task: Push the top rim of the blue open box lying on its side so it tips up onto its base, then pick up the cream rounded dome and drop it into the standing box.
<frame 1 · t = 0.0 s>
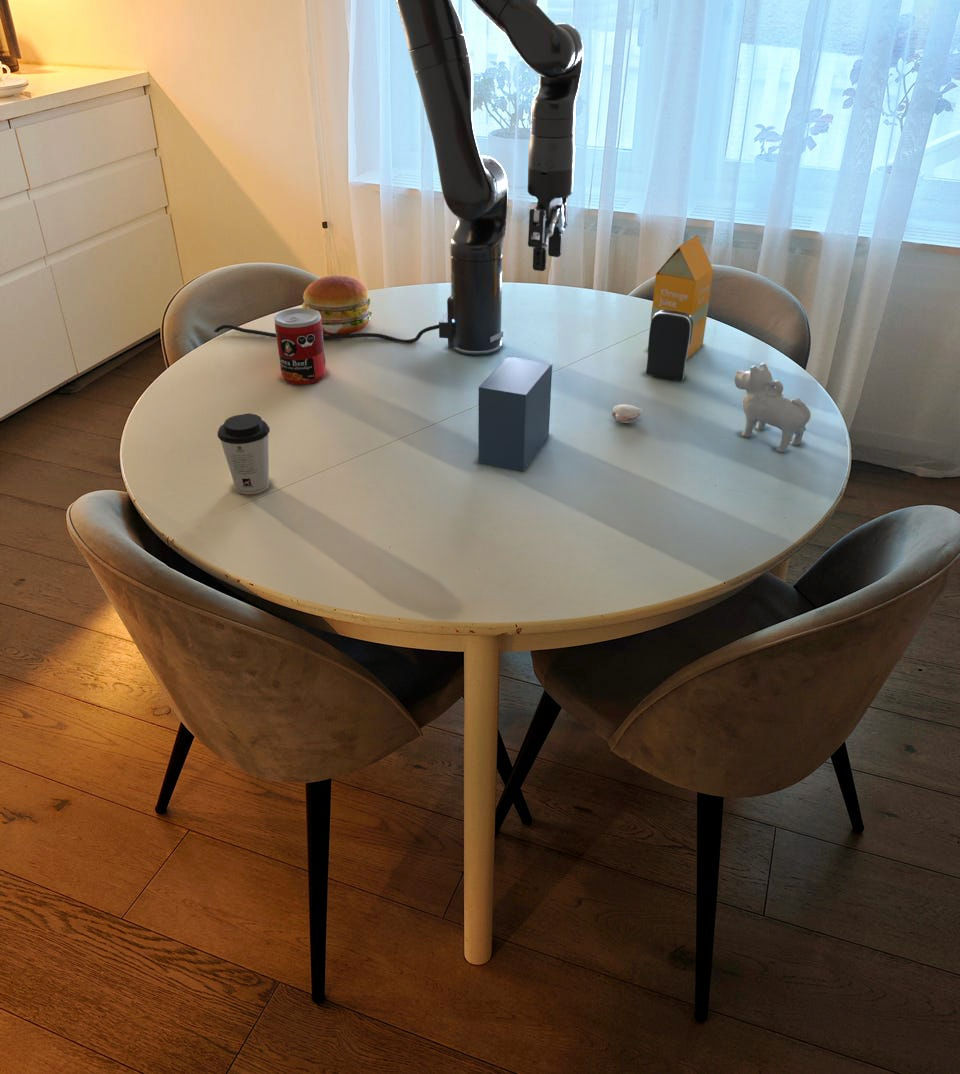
hand: (547, 263, 157), 17 cm above the table, tool pointing down, fingers open, 8 cm apart
coffee cup: (252, 487, 127), on the table
cream rounded dome: (627, 421, 145), on the table
orange juice: (675, 349, 170), on the table
blue open box: (515, 412, 133), point 6 cm above the table
dog figurine: (763, 437, 140), on the table
burger: (338, 329, 179), on the table
canned food: (304, 377, 159), on the table
battery charger: (665, 376, 160), on the table
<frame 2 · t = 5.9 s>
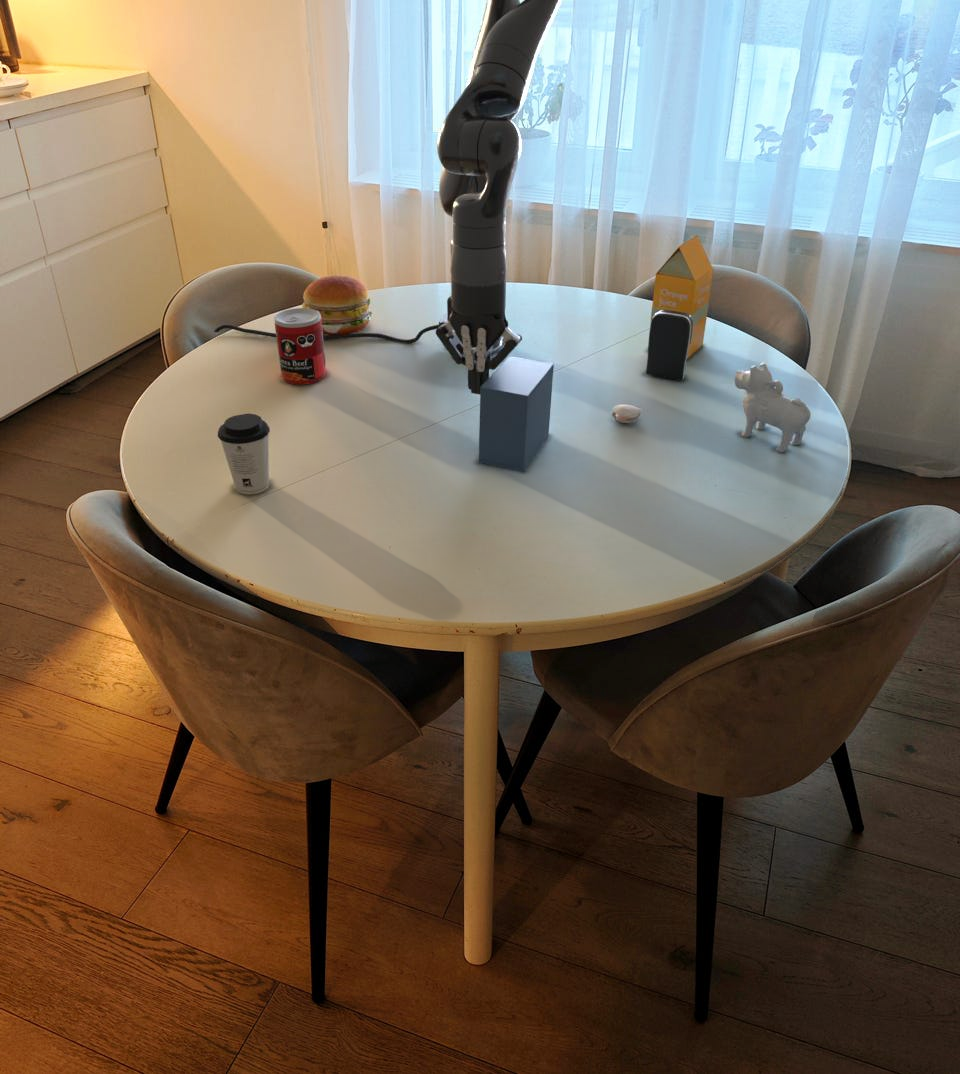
hand: (478, 391, 133), 8 cm above the table, tool pointing down, fingers closed
blue open box: (516, 412, 133), point 6 cm above the table, touching gripper
everything else where it was.
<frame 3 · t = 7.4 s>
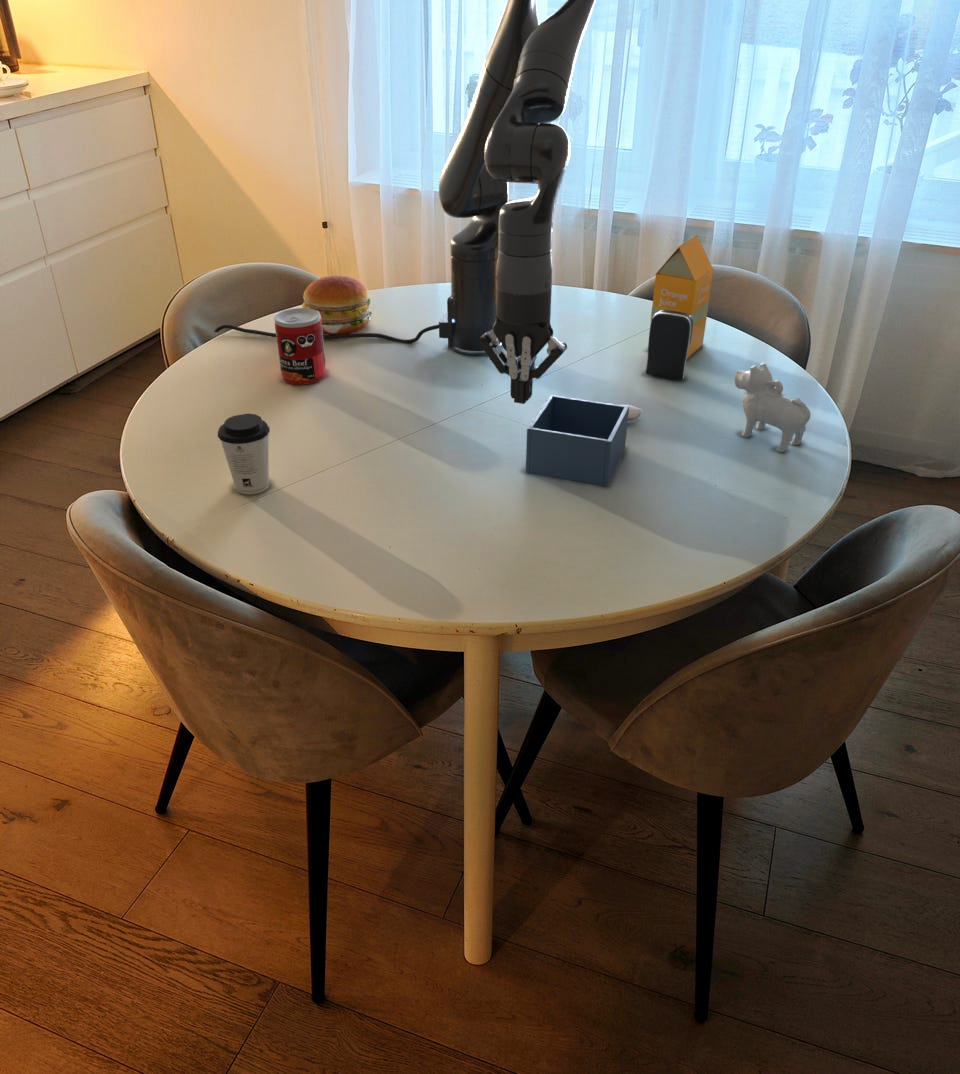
hand: (520, 401, 132), 8 cm above the table, tool pointing down, fingers closed
blue open box: (577, 438, 132), point 4 cm above the table, tilted 90°
everything else where it was.
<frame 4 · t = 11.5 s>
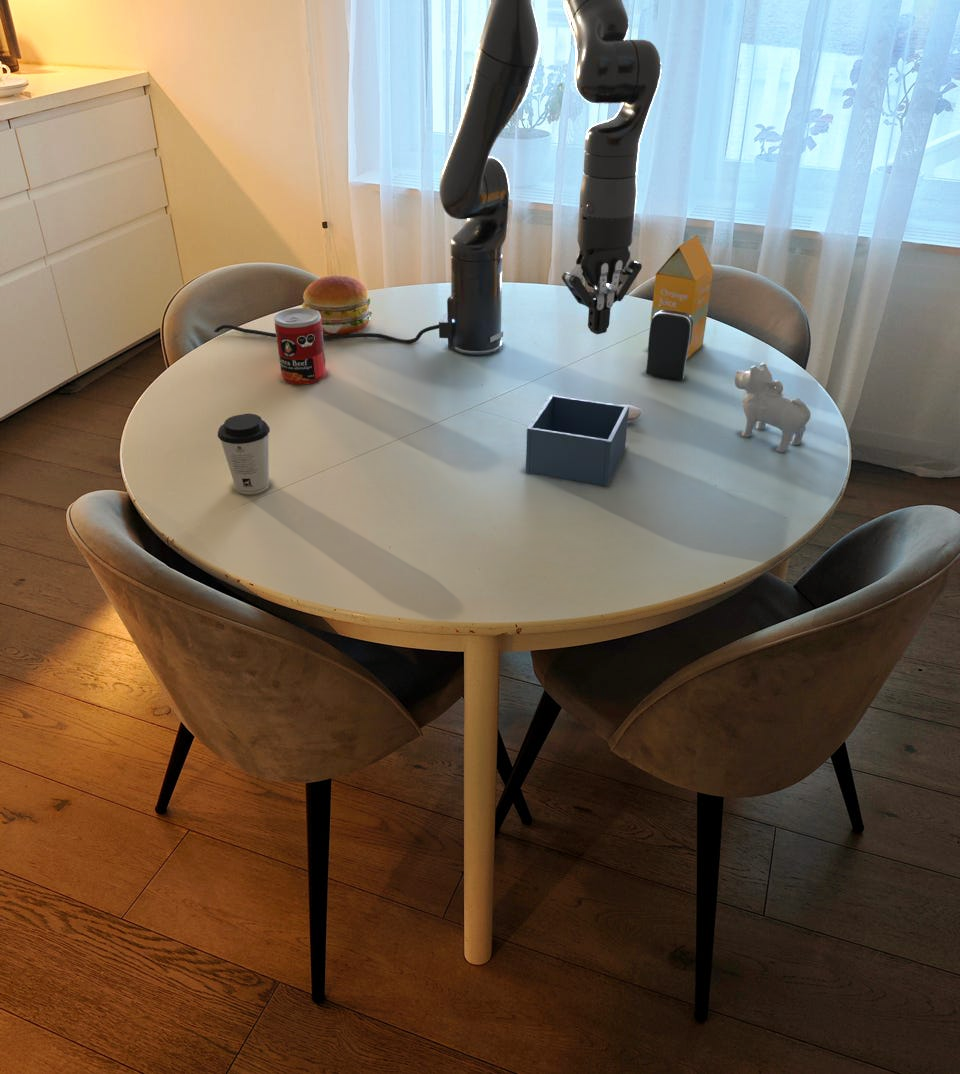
hand: (597, 331, 131), 17 cm above the table, tool pointing down, fingers closed
nothing on the table moved.
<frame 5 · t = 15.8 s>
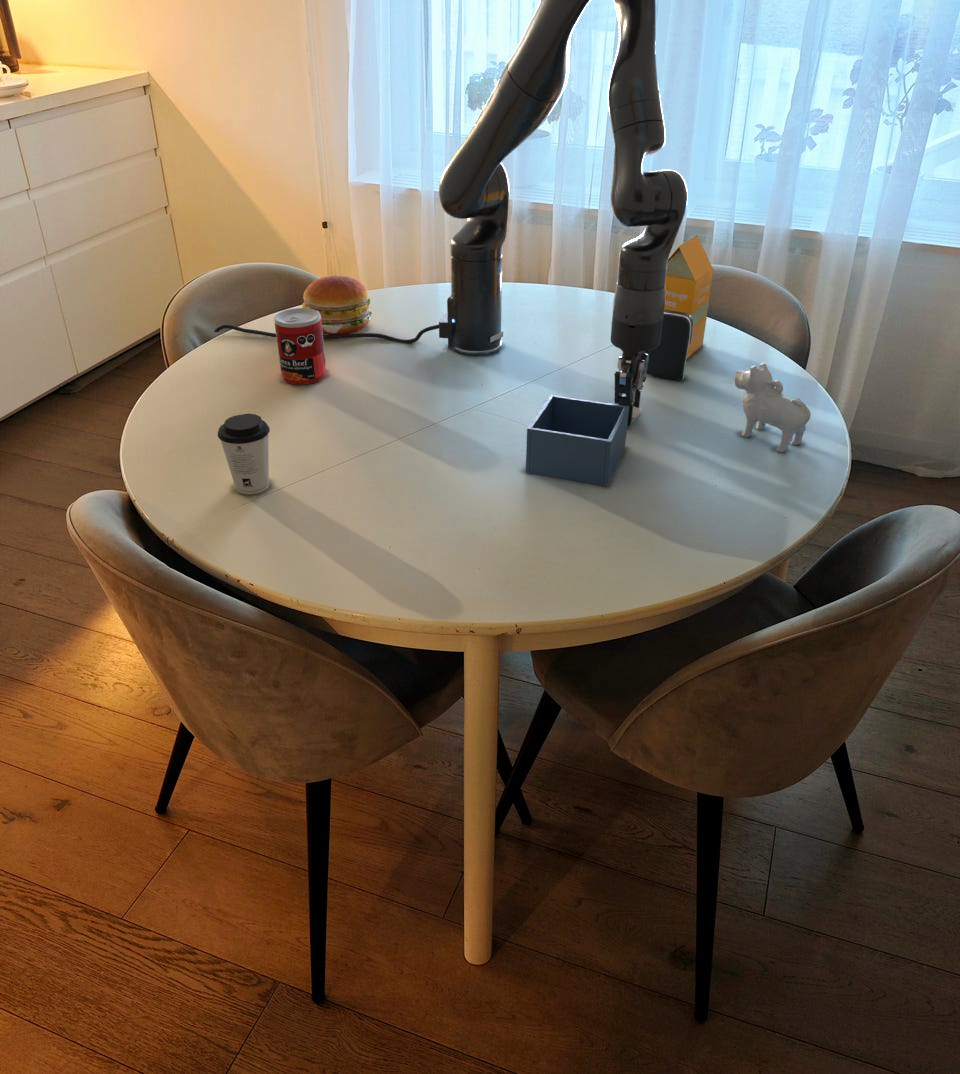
hand: (627, 417, 144), 1 cm above the table, tool pointing down, fingers closed on cream rounded dome, 4 cm apart
cream rounded dome: (627, 421, 145), on the table, touching gripper
everything else where it was.
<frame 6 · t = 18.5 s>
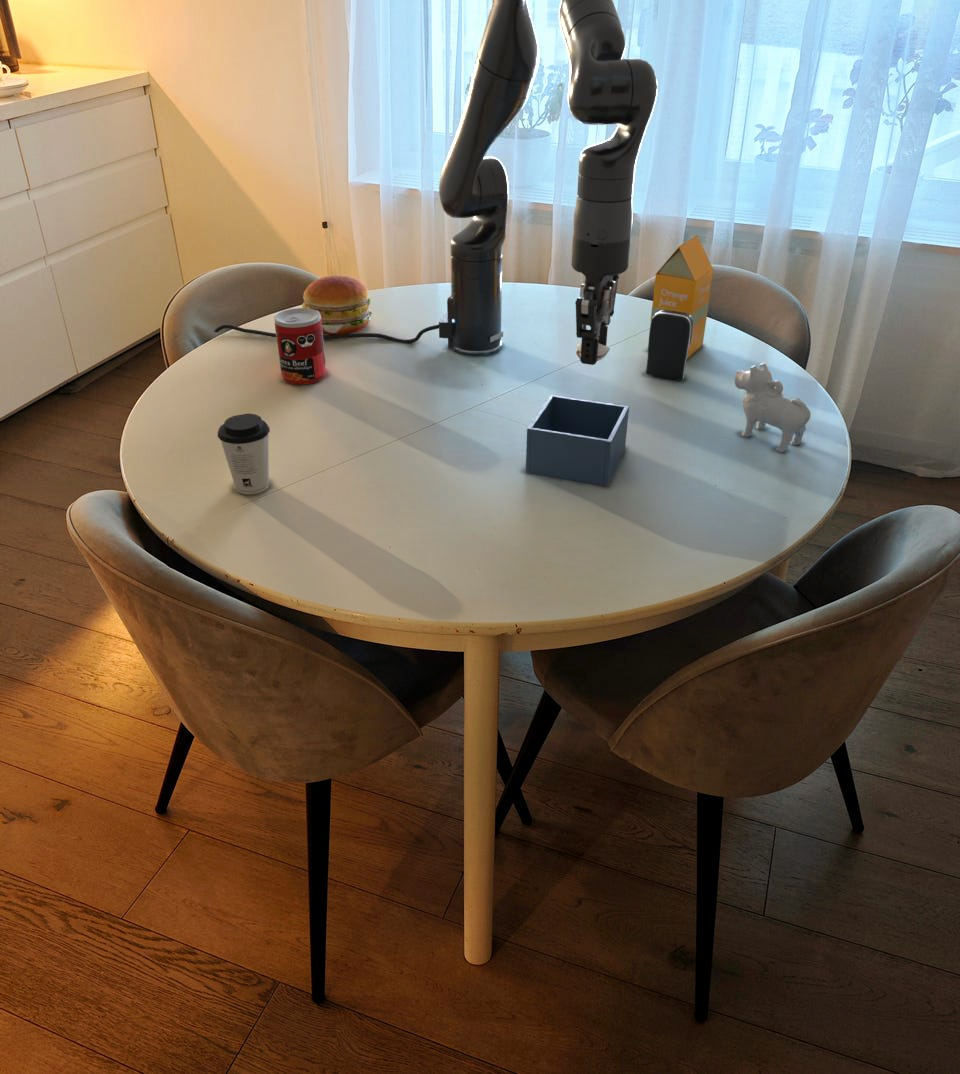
hand: (593, 356, 127), 15 cm above the table, tool pointing down, fingers closed on cream rounded dome, 4 cm apart
cream rounded dome: (593, 360, 127), point 15 cm above the table, touching gripper
everything else where it was.
when the fingers open (5 cm above the table, at t = 21.7 s): cream rounded dome drops 4 cm, resting on blue open box.
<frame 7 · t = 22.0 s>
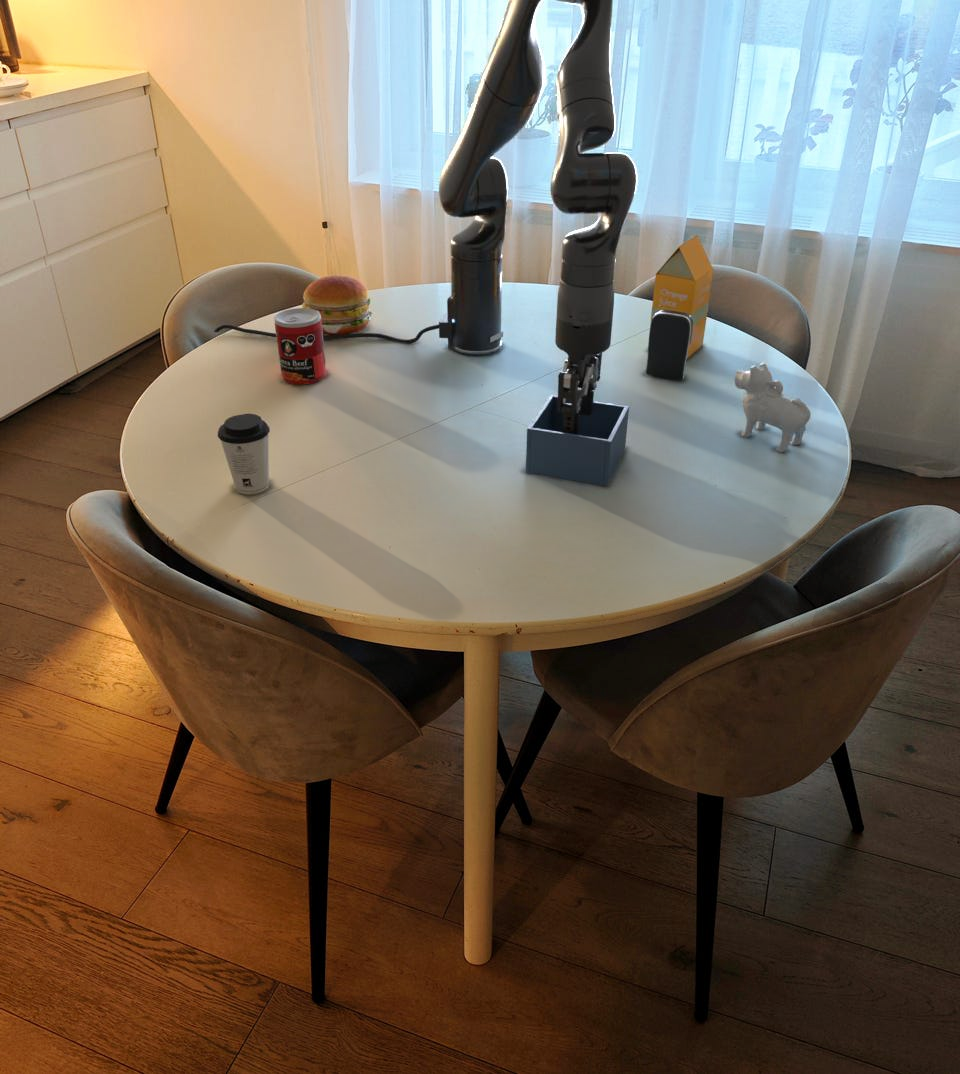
hand: (577, 424, 130), 6 cm above the table, tool pointing down, fingers open, 6 cm apart
cream rounded dome: (575, 457, 133), resting on blue open box
blue open box: (577, 438, 132), point 3 cm above the table, tilted 90°, touching cream rounded dome
everything else where it was.
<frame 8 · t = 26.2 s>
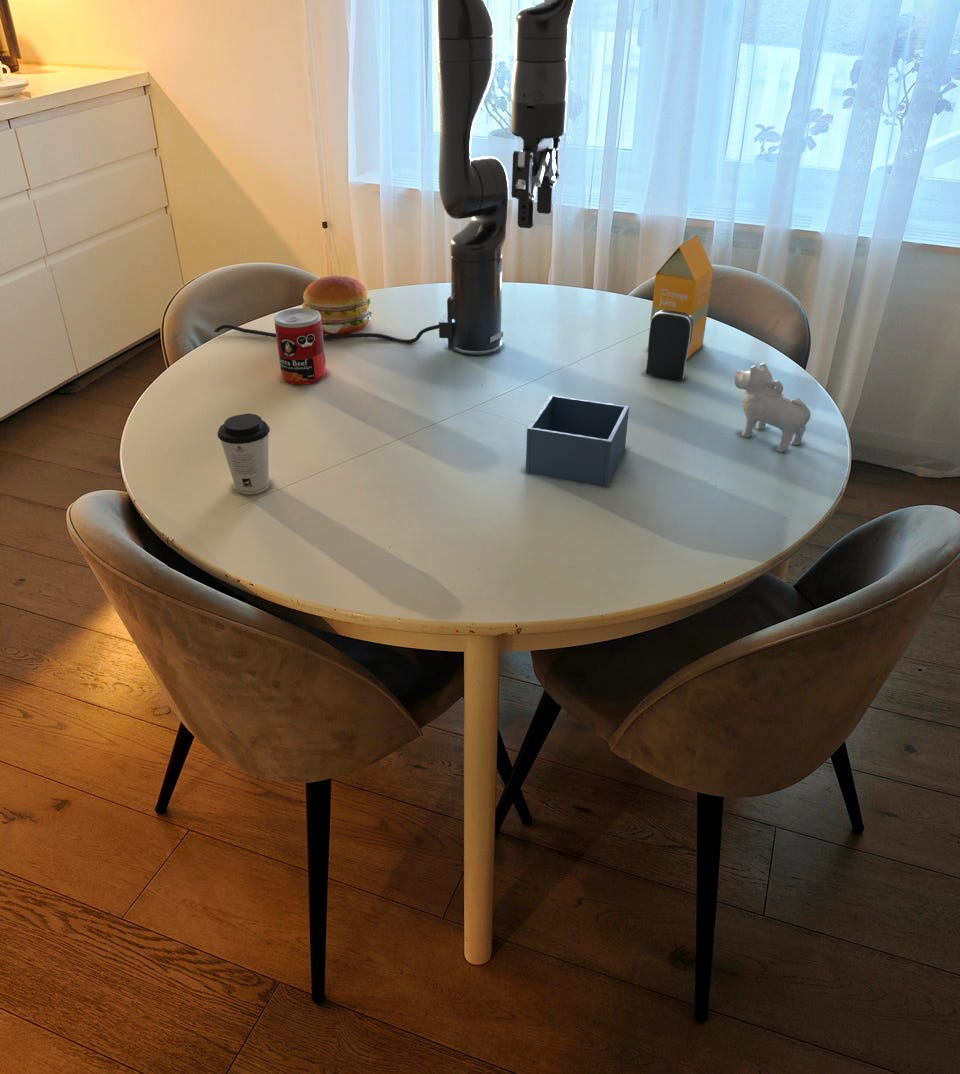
hand: (535, 220, 131), 30 cm above the table, tool pointing down, fingers open, 8 cm apart
nothing on the table moved.
at the end: blue open box tilted 90°; blue open box inside the target area (0.1 cm from its centre), point 3.5 cm above the table; cream rounded dome inside the target area on the blue open box (0.1 cm from its centre), point -3.1 cm above the blue open box's base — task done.
